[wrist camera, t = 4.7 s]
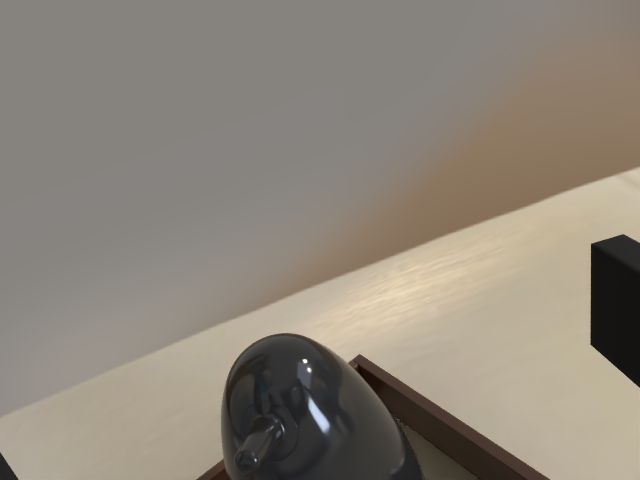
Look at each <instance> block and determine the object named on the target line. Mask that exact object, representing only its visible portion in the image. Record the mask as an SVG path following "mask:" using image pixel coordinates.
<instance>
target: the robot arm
mask: <svg viewBox="0 0 640 480" xmlns="http://www.w3.org/2000/svg"><path fill="white" fill-rule="evenodd" d="M591 345H592V346H593V347H594V348H595V349H596V350H597V351H598V352H600V353H601V354H602V355H603V356H604V357H605V358H606V359H608V360H609V361H610V362H611V363H612V364H613V365H614V366H616V367H617V368H618V369H619V370H620V371H621V372H622V373H624V374H625V375H626V376H627V377H628V378H629V379H630V380H632V381H633V382H634V383H635V384H636V385H637V386H638V387H640V243H639V242H637V241H635V240H633V239H631V238H629V237H628V236H626V235H624V234H622V235H619V236H616V237H612V238H609V239H606V240H602V241H599V242H596V243H592V244H591ZM0 480H18V478H17V477H16V475H15V474H14V472H13V471H12V469H11V468H10V466H9V465H8V463H7V462H6V460H5V459H4V457H3V456H2V454H1V453H0Z"/></svg>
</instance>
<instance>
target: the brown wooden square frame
mask: <svg viewBox="0 0 640 480" xmlns="http://www.w3.org/2000/svg"><path fill="white" fill-rule="evenodd" d="M348 364H349V365H350V366H351V367H352V368H353V369H354V370H355V371H356V372H357V373H358V374H359V375H360V376H361V377H362V378H363V379H364V380H365V381H366V382H367V383H368V384H369V386H370V387H371V388H372V389H373V390H374V391H375V393H376V394H377V395H378V396H379V397H380V399H381V400H382V401H383V403H384V404H385V405H386V406H387V408H388V409H389V411H390V412H391V413H392V414H394V415H395V416H396V417H398V418H399V419H400V420H402V421H403V422H404V423H406V424H407V425H408V426H410V427H411V428H412V429H414V430H415V431H416V432H418V433H419V434H420V435H422V436H423V437H424V438H426V439H427V440H428V441H430V442H431V443H432V444H434V445H435V446H436V447H438V448H439V449H440V450H442V451H443V452H444V453H446V454H447V455H448V456H450V457H451V458H453V459H454V460H455V461H457V462H458V463H459V464H461V465H462V466H463V467H465V468H466V469H467V470H469V471H470V472H471V473H473V474H474V475H475V476H477V477H478V478H479V479H481V480H550V479H548V478H547V477H545V476H544V475H542V474H541V473H539V472H538V471H536V470H535V469H533V468H532V467H530V466H529V465H527V464H526V463H524V462H523V461H521V460H520V459H518V458H517V457H515V456H513V455H512V454H510V453H509V452H507V451H506V450H504V449H503V448H501V447H500V446H498V445H497V444H495V443H494V442H492V441H491V440H489V439H488V438H486V437H485V436H483V435H482V434H480V433H479V432H477V431H476V430H474V429H473V428H471V427H470V426H468V425H466V424H465V423H463V422H462V421H460V420H459V419H457V418H456V417H454V416H453V415H451V414H450V413H448V412H447V411H445V410H444V409H442V408H441V407H439V406H438V405H436V404H435V403H433V402H432V401H430V400H429V399H427V398H426V397H424V396H422V395H421V394H419V393H418V392H416V391H415V390H413V389H412V388H410V387H409V386H407V385H406V384H404V383H403V382H401V381H400V380H398V379H397V378H395V377H394V376H392V375H391V374H389V373H388V372H386V371H385V370H383V369H382V368H380V367H378V366H377V365H375V364H374V363H372V362H371V361H369V360H368V359H366V358H365V357H363V356H362V355H360V354H359V355H358V356H357V357H355V358H354V359H353V360H352V361H350V362H349V363H348ZM197 480H227V475H226V470H225V463H224V459H223V460H221V461H220V462H219V463H217V464H216V465H215V466H214V467H212V468H211V469H210V470H208V471H207V472H206V473H204V474H203V475H202V476H201V477H199V478H198V479H197Z"/></svg>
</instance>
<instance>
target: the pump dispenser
mask: <svg viewBox="0 0 640 480" xmlns="http://www.w3.org/2000/svg"><path fill="white" fill-rule="evenodd" d="M221 438H222V448H223V456H224V463H225V470H226V475H227V480H426V478H425V475H424V472H423V469H422V467H421V464H420V462H419V460H418V457H417V455H416V453H415V451H414V449H413V448H412V446H411V444H410V442H409V440H408V439H407V437H406V435H405V434H404V432H403V430H402V429H401V427H400V425H399V424H398V422H397V421H396V419H395V418H394V416H393V415H392V413H391V412H390V411H389V409H388V408H387V406H386V405H385V404H384V403H383V401H382V400H381V399H380V397H379V396H378V395H377V394H376V393H375V391H374V390H373V389H372V388H371V387H370V386H369V384H368V383H367V382H366V381H365V380H364V379H363V378H362V377H361V376H360V375H359V374H358V373H357V372H356V371H355V370H354V369H353V368H352V367H351V366H350V365H349V364H348V363H347V362H346V361H345V360H343V359H342V358H341V357H340V356H339V355H337V354H336V353H335V352H333V351H332V350H330V349H329V348H327V347H326V346H324V345H322V344H320V343H319V342H317V341H315V340H313V339H310V338H308V337H305V336H302V335H298V334H291V333H281V334H274V335H270V336H267V337H265V338H262V339H260V340H258V341H256V342H255V343H253V344H252V345H250V346H249V347H248V348H246V349H245V350H244V351H243V352H242V353H241V354H240V355H239V357H238V358H237V359H236V361H235V362H234V364H233V366H232V367H231V370H230V372H229V374H228V377H227V380H226V384H225V388H224V393H223V399H222V407H221Z"/></svg>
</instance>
